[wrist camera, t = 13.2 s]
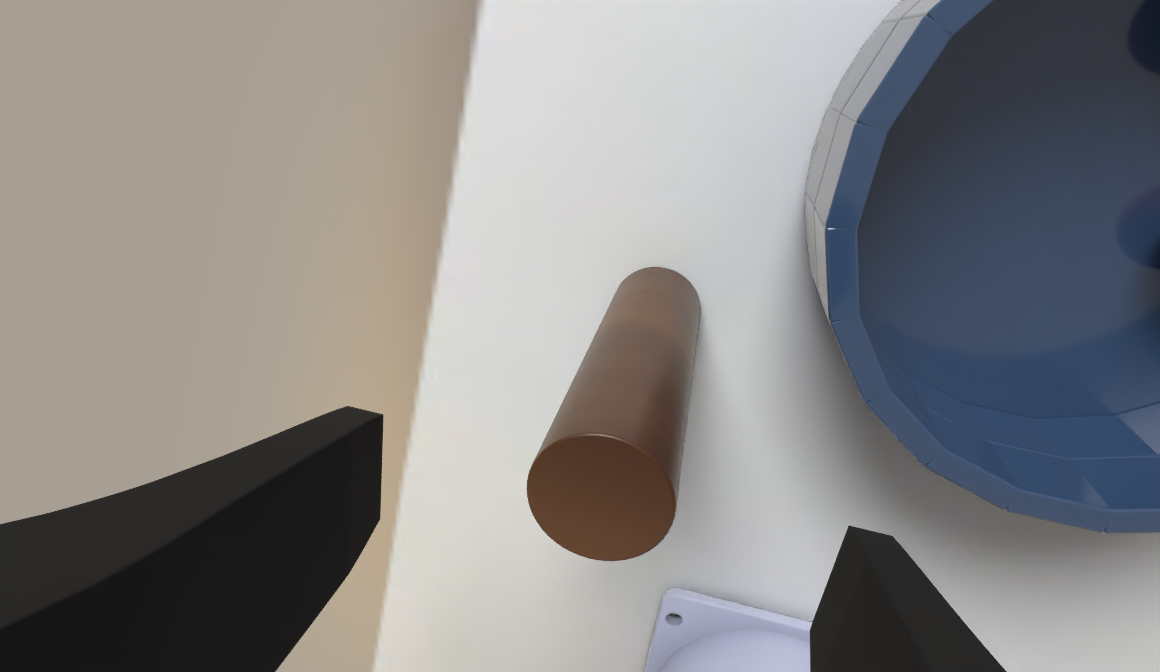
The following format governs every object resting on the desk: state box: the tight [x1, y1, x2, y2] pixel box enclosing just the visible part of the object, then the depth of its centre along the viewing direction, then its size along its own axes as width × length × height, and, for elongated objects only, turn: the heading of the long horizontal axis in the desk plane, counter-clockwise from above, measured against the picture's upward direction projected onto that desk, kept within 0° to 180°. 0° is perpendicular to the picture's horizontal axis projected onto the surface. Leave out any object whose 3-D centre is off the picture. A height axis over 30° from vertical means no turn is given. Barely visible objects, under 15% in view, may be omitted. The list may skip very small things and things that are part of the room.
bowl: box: [805, 0, 1160, 533], centre depth 14 cm, size 12×12×4 cm
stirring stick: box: [527, 267, 701, 561], centre depth 15 cm, size 2×2×9 cm
